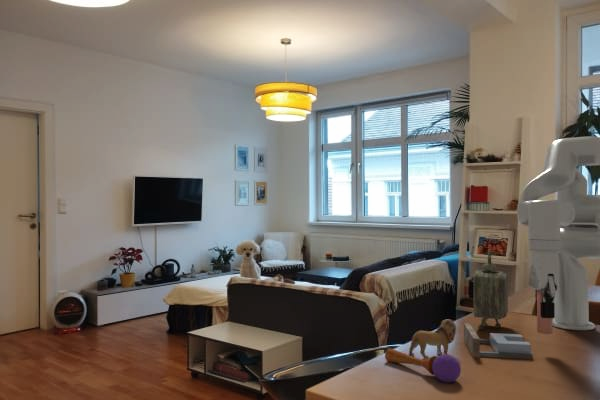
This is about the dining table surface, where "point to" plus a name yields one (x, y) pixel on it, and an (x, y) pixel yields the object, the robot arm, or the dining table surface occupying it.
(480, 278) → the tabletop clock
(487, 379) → the dining table surface
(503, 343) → the block
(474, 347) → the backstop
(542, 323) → the dowel
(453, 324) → the lion figurine
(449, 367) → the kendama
